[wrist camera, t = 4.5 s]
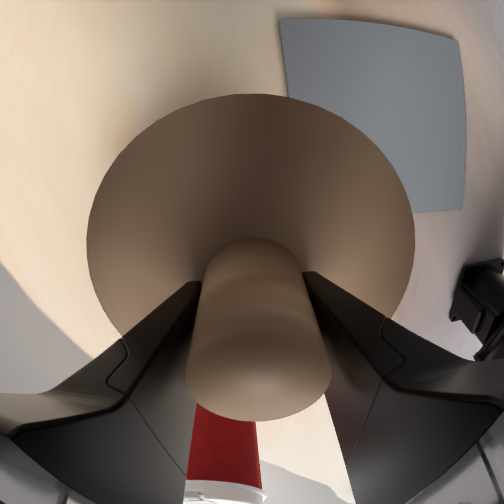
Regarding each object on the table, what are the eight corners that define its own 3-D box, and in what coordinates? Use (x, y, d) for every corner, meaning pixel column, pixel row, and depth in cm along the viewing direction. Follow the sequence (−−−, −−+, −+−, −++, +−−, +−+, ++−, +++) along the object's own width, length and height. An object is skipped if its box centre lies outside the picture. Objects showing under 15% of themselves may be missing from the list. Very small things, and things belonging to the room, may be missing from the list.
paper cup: (170, 366, 27) (142, 494, 15) (240, 344, 26) (237, 493, 13) (210, 407, 30) (201, 519, 18) (273, 390, 29) (283, 513, 16)
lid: (410, 97, 7) (524, 107, 3) (380, 358, 12) (416, 442, 8) (66, 132, 8) (-45, 166, 3) (146, 379, 12) (123, 467, 8)
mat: (453, 41, 14) (458, 40, 14) (457, 207, 20) (461, 209, 20) (278, 21, 15) (279, 18, 14) (298, 220, 21) (300, 223, 20)
